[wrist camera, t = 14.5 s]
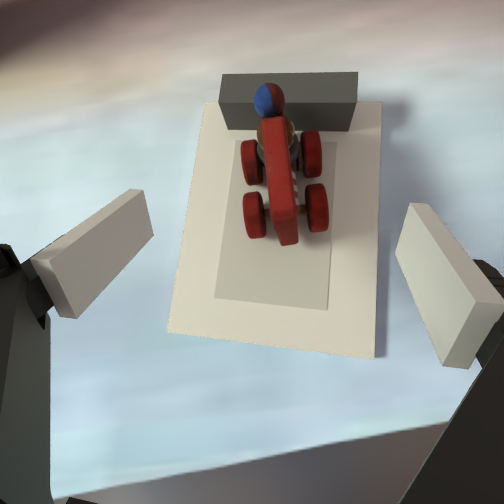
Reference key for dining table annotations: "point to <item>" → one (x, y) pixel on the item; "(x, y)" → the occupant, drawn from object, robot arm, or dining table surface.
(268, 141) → the red toy car
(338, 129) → the grey rectangular block
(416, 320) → the dining table surface
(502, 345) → the robot arm
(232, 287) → the mat
